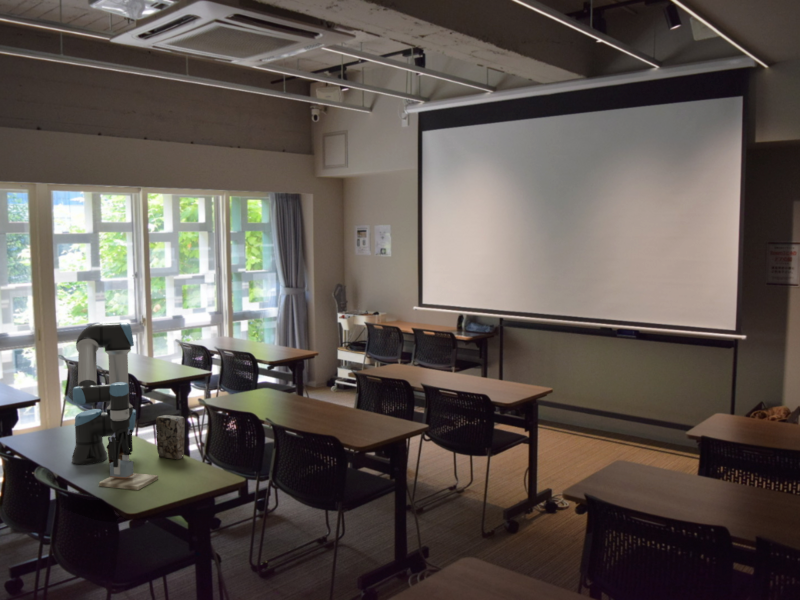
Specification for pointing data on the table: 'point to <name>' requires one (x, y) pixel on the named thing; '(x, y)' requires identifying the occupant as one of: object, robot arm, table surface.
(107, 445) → the coffee cup
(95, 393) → the robot arm
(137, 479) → the board
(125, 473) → the block
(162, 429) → the stone block
